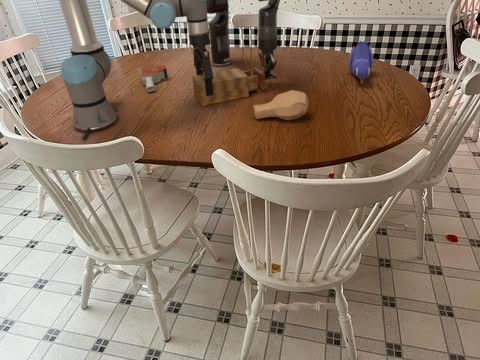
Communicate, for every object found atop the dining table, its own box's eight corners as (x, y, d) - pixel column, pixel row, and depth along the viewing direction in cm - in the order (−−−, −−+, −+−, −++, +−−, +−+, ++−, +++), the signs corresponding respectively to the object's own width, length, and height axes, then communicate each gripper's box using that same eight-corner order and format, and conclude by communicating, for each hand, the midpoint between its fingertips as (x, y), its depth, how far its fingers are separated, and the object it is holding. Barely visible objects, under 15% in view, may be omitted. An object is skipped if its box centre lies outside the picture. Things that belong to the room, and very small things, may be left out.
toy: (346, 78, 167) (350, 87, 144) (349, 39, 160) (352, 43, 138) (368, 77, 164) (375, 86, 142) (372, 38, 158) (379, 42, 135)
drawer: (267, 79, 157) (267, 65, 153) (277, 87, 149) (277, 72, 146) (215, 90, 150) (214, 75, 146) (223, 98, 143) (221, 82, 139)
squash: (312, 121, 125) (311, 99, 119) (256, 131, 127) (252, 110, 121) (306, 103, 133) (305, 82, 126) (254, 113, 134) (250, 93, 128)
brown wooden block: (239, 87, 154) (238, 67, 149) (248, 96, 146) (248, 75, 141) (194, 95, 149) (192, 76, 144) (202, 105, 140) (199, 85, 135)
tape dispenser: (151, 97, 154) (180, 78, 166) (148, 85, 150) (178, 68, 163) (122, 88, 161) (152, 71, 174) (119, 77, 158) (150, 61, 170)
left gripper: (218, 38, 122) (223, 98, 135) (199, 25, 140) (205, 79, 153) (197, 42, 120) (205, 102, 133) (181, 28, 138) (189, 82, 151)
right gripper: (283, 38, 137) (282, 82, 147) (269, 31, 147) (268, 72, 157) (265, 41, 135) (265, 85, 145) (252, 33, 145) (253, 75, 155)
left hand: (205, 90), depth 143 cm, fingers closed on brown wooden block, 11 cm apart
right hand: (267, 78), depth 151 cm, fingers closed
